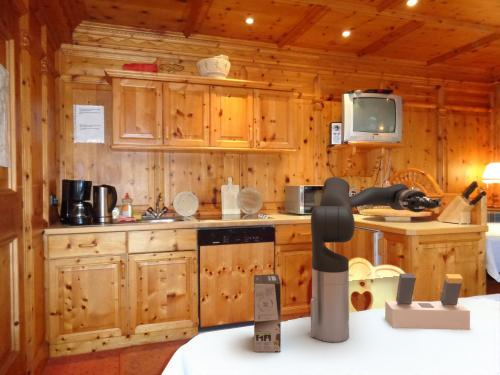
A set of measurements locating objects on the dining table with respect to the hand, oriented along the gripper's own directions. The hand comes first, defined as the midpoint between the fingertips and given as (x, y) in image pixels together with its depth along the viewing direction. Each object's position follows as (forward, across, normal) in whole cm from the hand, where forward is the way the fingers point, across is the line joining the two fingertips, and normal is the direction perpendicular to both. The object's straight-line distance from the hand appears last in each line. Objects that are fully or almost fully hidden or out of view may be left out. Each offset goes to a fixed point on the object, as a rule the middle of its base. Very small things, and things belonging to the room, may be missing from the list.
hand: (431, 205), depth 115 cm
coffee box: (+30, -50, +30) cm, 66 cm away
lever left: (+14, -13, +26) cm, 32 cm away
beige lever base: (+14, -7, +31) cm, 35 cm away
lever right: (+14, -1, +26) cm, 29 cm away
